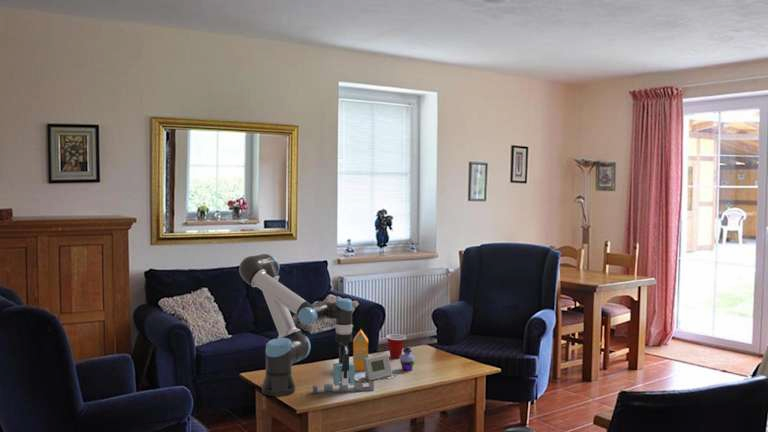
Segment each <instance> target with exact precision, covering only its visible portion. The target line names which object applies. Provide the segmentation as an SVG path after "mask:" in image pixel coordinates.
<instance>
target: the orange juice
mask: <svg viewBox="0 0 768 432" xmlns="http://www.w3.org/2000/svg"><path fill="white" fill-rule="evenodd" d="M352 343H353V344H352V347H353V348H352V350H353V352H352V353H353V354H352V359H353V360H352V363H353V364H354V365H355V370H365V366H364V362H363V360H364V359H365V358H368V357H369V338H368V337H367V335H366V334H365V333H364V331H363V330H362V328H360V330H359V331H358V332H357V333H356V334H355V336H354V338H352Z"/></svg>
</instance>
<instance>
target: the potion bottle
mask: <svg viewBox="0 0 768 432" xmlns="http://www.w3.org/2000/svg"><path fill="white" fill-rule="evenodd" d="M402 353H404V354H401V355H400V356H399V357H400V358H399V363H400V366H401V371H403V372H411V371H413V366H414V365H415V360H416V359H415V358H416V355H413V354H411V353H412V348H411V346H409V345H408V346H403V350H402Z"/></svg>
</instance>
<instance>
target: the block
mask: <svg viewBox="0 0 768 432" xmlns="http://www.w3.org/2000/svg"><path fill="white" fill-rule="evenodd" d="M332 367H333V371H332V373H333V377H332V378H333V383H332V384H333V386H335V387H339V383H340V378H342V371H341V370H342V363H339V362H338V363H333V366H332ZM355 372H356V371H355V365H354V364H353V362H349V371H348V385H350V386H352V385H353V386H354V382H355V376H356V375H355Z"/></svg>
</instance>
